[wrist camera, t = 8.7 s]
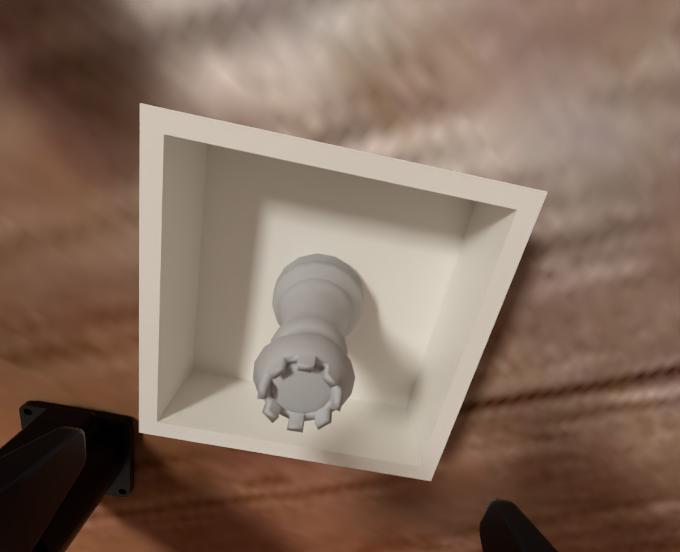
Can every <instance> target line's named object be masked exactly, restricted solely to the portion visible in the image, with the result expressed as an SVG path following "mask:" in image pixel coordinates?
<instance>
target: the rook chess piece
mask: <svg viewBox="0 0 680 552" xmlns="http://www.w3.org/2000/svg"><path fill="white" fill-rule="evenodd" d="M363 297H364V294H363V290H362V285H361V281H360V279H359V277H358V276H357V274H356V273H355V272H354V270H353V269H352V268H351V266H350V265H348V264H346V263H345V262H343V261H342V260H340V259H338V258H337V257H335V256H330V255H324V254H318V253H316V254H311V255H307V256H302V257H299V258H297V259H296V260H294V261H293V262H291V263H290V264H288V265H287V266H285V268H284V269H283V271H282V272H281V274H280V276H279V277H278V279H277V281H276V286H275V288H274V293H273V302H272V306H273V310H274V313H275V316H276V320H277V323H278V324H279V325H280V326H281V327H279V328H278V330H277V331H276V333H275V334H274V336H273V337H272V339H271V343H269V344H268V345H266V346H265V347H264V348H263V349H262V351H261V352H260V354H259V356H258V357H257V359H256V360H255V362H254V371H253V381H254V383H255V386H256V389H257V392H258V396H257V399H263V400H264V401H265V405H264V408H263V411H262V413H263V414H264V415H265V416H266V417H267V418H268V419H269V420H270V421H271V422H272V423H273V422H274V421H275V420H277V419H278V418H279V414H280V415H282V416H284V417H286V418H288V419H289V421H288V426H287V430H289V431H296V432H303V427H304V421H310V420H315V421H314V423H315V425H316V427H317V429H318V430H319V429H321V428H323V427H325V426H326V425H328V424H330V423H331V422H332V412H333V411H335V410H337V411H340V410H341V407H342V405H343V404H344V403H345V402H346V400H347V399H348V398H349V397H350V395H351V394H352V390H353V386H354V381H355V374H354V370H353V366H352V362H351V360H350V359H349V357H348V356H347V354H348V350H347V346H346V342H345V338H344V337H346V336H347V335H349V334H350V332H351V331H352V329H353V328H354V327H355V325H356V324H357V323H358V321H359V319H360V316H361V311H362V306H363Z"/></svg>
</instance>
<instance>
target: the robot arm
mask: <svg viewBox="0 0 680 552" xmlns="http://www.w3.org/2000/svg"><path fill="white" fill-rule="evenodd" d="M19 412H20V419H21V426H22V430H21V431H20V432H19V433H18V434H16V435H15V436H14V437H13V438H12V439H11V440H9V441H8V442H7V443H6V444H5V445H4V446H2V447H1V448H0V552H65V551H66V550H67V548H68V547H69V545H70V544H71V543H72V541H73V540H74V538H75V537H76V535H77V534H78V533H79V531H80V530H81V528H82V527H83V525H84V524H85V523H86V521H87V520H88V518H89V517H90V515H91V514H92V513H93V511H94V510H95V508H96V507H97V505H98V504H99V503H100V501H101V500H102V498H103V497H104V495H105V494H107V495H113V496H119V497H127V496H129V495H130V493H131V492H132V490H133V488H134V459H133V421H132V420H131V419H130V418H128V417H125V416H120V415H114V414H108V413H102V412H96V411H90V410H84V409H79V408H73V407H67V406H61V405H55V404H49V403H43V402H37V401H27V402H26V403H25V404H23V405H22V406H21V407H20V409H19ZM479 530H480V538H481V544H482V549H483V552H558V551H557V550H556V549H555V548H554V547H553V546H552V544H551V543H550V542H549V541H548V540H547V539H546V538H545V537H544V536H543V535H542V533H541V532H540V531H539V530H538V529H537V528H536V527H535V526H534V525H533V524H532V523H531V521H530V520H529V519H528V518H527V517H526V516H525V515H524V514H523V513H522V512H521V510H520V509H519V508H518V507H517V506H516V505H515V504H514V503H512V502H511V501H507V500H501V499H493V500H492V501H491V502H490V504H489V506H488V508H487V510H486V512H485V514H484V516H483V518H482V520H481V522H480V529H479Z"/></svg>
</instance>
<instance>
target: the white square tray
mask: <svg viewBox="0 0 680 552" xmlns="http://www.w3.org/2000/svg"><path fill="white" fill-rule="evenodd" d="M546 195H547V191H542V190H537V189H533V188H528V187H524V186H519V185H514V184H510V183H505V182H501V181H496V180H492V179H487V178H482V177H478V176H473V175H469V174H464V173H459V172H455V171H450V170H446V169H441V168H436V167H432V166H427V165H423V164H418V163H413V162H409V161H404V160H400V159H395V158H390V157H386V156H381V155H377V154H372V153H368V152H363V151H358V150H354V149H349V148H345V147H340V146H335V145H331V144H326V143H322V142H317V141H312V140H308V139H303V138H299V137H294V136H289V135H285V134H280V133H276V132H271V131H267V130H262V129H257V128H253V127H248V126H244V125H239V124H234V123H230V122H225V121H221V120H216V119H211V118H207V117H202V116H198V115H193V114H188V113H184V112H179V111H175V110H170V109H165V108H161V107H156V106H152V105H147V104H143V103H140V196H139V433H145V434H151V435H157V436H163V437H169V438H175V439H181V440H187V441H193V442H199V443H205V444H211V445H217V446H223V447H229V448H235V449H241V450H247V451H253V452H259V453H265V454H271V455H277V456H283V457H289V458H295V459H301V460H307V461H313V462H318V463H324V464H330V465H336V466H342V467H348V468H354V469H360V470H366V471H372V472H378V473H384V474H390V475H396V476H402V477H408V478H414V479H420V480H426V481H431V480H432V477H433V475H434V472H435V470H436V467H437V465H438V463H439V460H440V458H441V455H442V453H443V450H444V448H445V445H446V443H447V440H448V438H449V435H450V433H451V430H452V428H453V425H454V423H455V420H456V418H457V415H458V413H459V411H460V408H461V406H462V403H463V401H464V398H465V396H466V393H467V391H468V388H469V386H470V383H471V381H472V378H473V376H474V373H475V371H476V368H477V366H478V363H479V361H480V358H481V356H482V354H483V351H484V349H485V346H486V344H487V341H488V339H489V336H490V334H491V331H492V329H493V326H494V324H495V321H496V319H497V316H498V314H499V311H500V309H501V306H502V304H503V301H504V299H505V297H506V294H507V292H508V289H509V287H510V284H511V282H512V279H513V277H514V274H515V272H516V269H517V267H518V264H519V262H520V259H521V257H522V254H523V252H524V249H525V247H526V244H527V242H528V240H529V237H530V235H531V232H532V230H533V227H534V225H535V222H536V220H537V217H538V215H539V212H540V210H541V207H542V205H543V202H544V200H545V197H546ZM316 253H318V254H324V255H330V256H335V257H337V258H338V259H340V260H342V261H343V262H345V263H346V264H348V265H350V266H351V268H352V269H353V270H354V272H355V273H356V274H357V276H358V277H359V279H360V281H361V285H362V290H363V294H364V297H363V306H362V311H361V316H360V319H359V321H358V323H357V324H356V325H355V327H354V328H353V329H352V331H351V332H350V334H349V335H347V336H346V337H344V338H345V342H346V346H347V350H348V354H347V356H348V357H349V359H350V360H351V362H352V366H353V370H354V374H355V381H354V386H353V390H352V394H351V395H350V397H349V398H348V399H347V400H346V402H345V403H344V404H343V405H342V407H341V410H340V411H337V410H335V411H333V412H332V422H331V423H330V424H328V425H326V426H325V427H323V428H321V429H319V430H318V429H317V427H316V425H315V423H314V421H315V420H310V421H304V427H303V432H296V431H289V430H287V426H288V421H289V419H288V418H286V417H284V416H282V415H280V414H279V418H278V419H277V420H275V421H274V422H273V423H272V422H271V421H270V420H269V419H268V418H267V417H266V416H265V415H264V414H263V413H262V411H263V408H264V405H265V401H264V400H263V399H257V396H258V392H257V389H256V386H255V383H254V381H253V371H254V362H255V360H256V359H257V357H258V356H259V354H260V352H261V351H262V349H263V348H264V347H265V346H266V345H268V344H269V343H271V339H272V337H273V336H274V334H275V333H276V331H277V330H278V328H279V327H281V326H280V325H279V324H278V323H277V320H276V316H275V313H274V310H273V306H272V302H273V293H274V288H275V286H276V281H277V279H278V277H279V276H280V274H281V272H282V271H283V269H284V268H285V266H287V265H288V264H290V263H291V262H293V261H294V260H296V259H297V258H299V257H302V256H307V255H311V254H316Z"/></svg>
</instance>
